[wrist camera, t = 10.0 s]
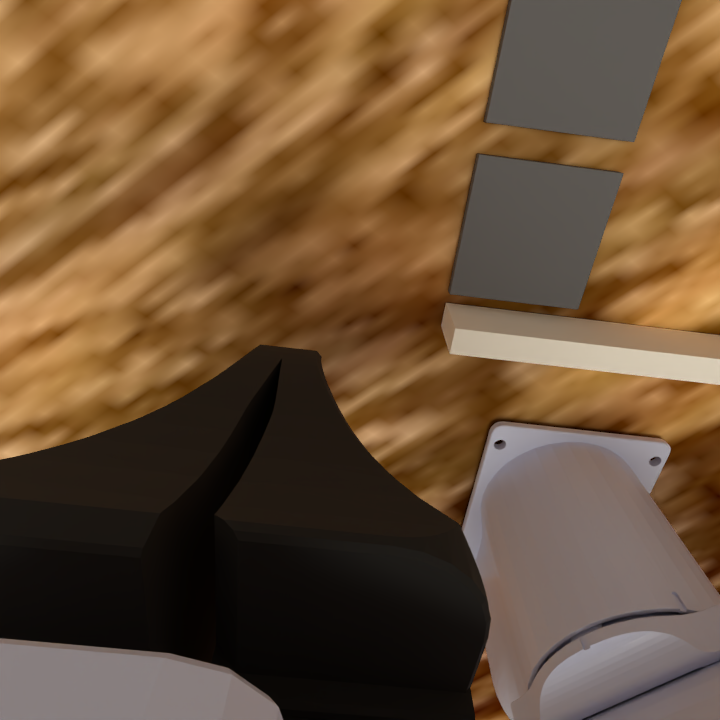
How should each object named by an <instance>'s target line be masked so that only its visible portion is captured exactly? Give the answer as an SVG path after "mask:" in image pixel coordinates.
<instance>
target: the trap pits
mask: <svg viewBox="0 0 720 720" xmlns="http://www.w3.org/2000/svg"><path fill="white" fill-rule="evenodd" d="M681 1H682V0H509V2H508V7H507V12H506V17H505V22H504V26H503V31H502V36H501V41H500V46H499V50H498V55H497V60H496V65H495V70H494V74H493V79H492V84H491V89H490V94H489V98H488V103H487V108H486V113H485V118H484V122H488V123H495V124H503V125H510V126H518V127H525V128H533V129H540V130H548V131H555V132H562V133H570V134H577V135H585V136H592V137H600V138H607V139H615V140H622V141H630V142H634V141H635V138H636V135H637V132H638V129H639V126H640V123H641V120H642V117H643V114H644V111H645V108H646V105H647V102H648V99H649V96H650V93H651V90H652V87H653V84H654V81H655V78H656V75H657V72H658V69H659V66H660V63H661V60H662V57H663V54H664V51H665V48H666V45H667V42H668V39H669V36H670V33H671V30H672V27H673V25H674V22H675V19H676V16H677V13H678V10H679V7H680V4H681ZM622 177H623V173H620V172H615V171H607V170H600V169H592V168H585V167H577V166H569V165H562V164H554V163H546V162H539V161H531V160H523V159H516V158H508V157H501V156H493V155H485V154H478V153H477V156H476V161H475V165H474V170H473V175H472V180H471V185H470V189H469V194H468V199H467V204H466V209H465V213H464V218H463V223H462V228H461V233H460V237H459V242H458V247H457V252H456V257H455V261H454V266H453V271H452V276H451V281H450V285H449V290H448V291H449V293H450V294H453V295H461V296H469V297H478V298H486V299H494V300H503V301H511V302H520V303H528V304H536V305H545V306H553V307H562V308H570V309H578V308H579V305H580V302H581V299H582V296H583V293H584V290H585V287H586V284H587V281H588V278H589V275H590V272H591V269H592V266H593V263H594V260H595V257H596V254H597V251H598V248H599V245H600V242H601V239H602V236H603V233H604V230H605V227H606V224H607V221H608V218H609V215H610V212H611V209H612V206H613V204H614V201H615V198H616V195H617V192H618V189H619V186H620V183H621V180H622Z"/></svg>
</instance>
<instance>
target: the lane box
mask: <svg viewBox="0 0 720 720" xmlns="http://www.w3.org/2000/svg"><path fill="white" fill-rule="evenodd" d="M441 327H442V331H443V334H444V337H445V340H446V344H447V347H448V350H449V353H450V354H455V355H464V356H473V357H482V358H490V359H499V360H508V361H516V362H525V363H534V364H543V365H551V366H560V367H569V368H578V369H586V370H595V371H604V372H613V373H621V374H630V375H639V376H648V377H656V378H665V379H674V380H682V381H691V382H700V383H709V384H717V385H720V335H715V334H706V333H698V332H689V331H681V330H673V329H664V328H656V327H647V326H639V325H630V324H622V323H613V322H605V321H597V320H588V319H580V318H571V317H563V316H554V315H546V314H538V313H529V312H521V311H512V310H504V309H495V308H487V307H479V306H470V305H462V304H453V303H446V305H445V309H444V314H443V319H442V324H441Z"/></svg>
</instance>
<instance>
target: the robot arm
mask: <svg viewBox="0 0 720 720" xmlns="http://www.w3.org/2000/svg"><path fill="white" fill-rule="evenodd" d="M498 440H503V442H502V443H501V444H494V443H495V442H496V441H498ZM670 451H671V448H670V446H669V445H668V443H667V442H666V441H665V440H663V439H660V438H651V437H642V436H632V435H623V434H614V433H605V432H596V431H587V430H578V429H568V428H559V427H550V426H541V425H532V424H523V423H514V422H504V421H502V422H497V423H495V424H494V425H492V426H491V428H490V431H489V434H488V438H487V441H486V445H485V448H484V452H483V455H482V459H481V462H480V466H479V469H478V473H477V476H476V480H475V483H474V487H473V490H472V494H471V497H470V501H469V505H468V508H467V512H466V515H465V519H464V522H463V526H462V528H461V526H460V525H459V524H458V523H457V522H455V521H454V520H452V519H451V518H449V517H448V516H446V515H445V514H443V513H442V512H440V511H438V510H437V509H435V508H434V507H432V506H431V505H429V504H428V503H426V502H425V501H423V500H422V499H420V498H419V497H417V496H416V495H415V494H414V493H412V492H411V491H410V490H409V489H407V488H406V487H405V486H404V485H402V484H401V483H400V482H399V481H397V480H396V479H395V478H394V477H393V476H392V475H391V474H389V473H388V472H387V471H386V470H385V469H384V468H383V467H382V466H381V465H380V464H379V463H378V462H377V461H376V460H375V459H374V458H373V457H372V456H371V454H370V453H369V452H368V451H367V450H366V448H365V447H364V446H363V445H362V443H361V442H360V441H359V439H358V438H357V437H356V435H355V434H354V433H353V431H352V430H351V428H350V427H349V425H348V423H347V422H346V420H345V418H344V417H343V415H342V413H341V411H340V410H339V408H338V406H337V404H336V402H335V400H334V398H333V396H332V393H331V391H330V389H329V387H328V384H327V381H326V379H325V376H324V372H323V369H322V364H321V356H320V354H319V353H318V352H317V351H312V350H303V349H294V348H285V347H277V346H268V345H259V346H258V347H256V348H255V349H253V350H252V351H251V352H249V353H248V354H247V355H245V356H244V357H243V358H241V359H240V360H239V361H237V362H236V363H234V364H233V365H232V366H230V367H229V368H228V369H226V370H225V371H223V372H222V373H220V374H219V375H218V376H216V377H215V378H213V379H212V380H210V381H208V382H207V383H205V384H203V385H202V386H200V387H198V388H197V389H195V390H193V391H192V392H190V393H189V394H187V395H185V396H184V397H182V398H180V399H178V400H176V401H174V402H172V403H171V404H169V405H167V406H165V407H163V408H160V409H158V410H156V411H154V412H152V413H150V414H147V415H145V416H143V417H141V418H138V419H136V420H134V421H131V422H128V423H126V424H123V425H120V426H117V427H115V428H112V429H109V430H107V431H104V432H101V433H98V434H96V435H93V436H90V437H87V438H84V439H80V440H77V441H74V442H70V443H67V444H64V445H60V446H56V447H53V448H49V449H45V450H41V451H37V452H33V453H29V454H25V455H21V456H16V457H12V458H7V459H2V460H0V720H475V713H474V707H473V701H472V696H471V690H470V687H471V684H472V681H473V679H474V676H475V673H476V670H477V668H478V665H479V662H480V659H481V657H482V654H483V651H484V648H485V647H486V652H487V657H488V661H489V666H490V671H491V676H492V680H493V685H494V688H495V691H496V694H497V697H498V699H499V701H500V703H501V705H502V707H503V709H504V711H505V712H506V714H507V716H508V717H509V718H510V720H720V595H719V594H718V592H717V591H716V589H715V588H714V586H713V585H712V583H711V582H710V581H709V579H708V578H707V576H706V575H705V573H704V572H703V571H702V569H701V568H700V566H699V565H698V563H697V562H696V561H695V559H694V558H693V556H692V555H691V553H690V552H689V550H688V549H687V548H686V546H685V545H684V543H683V542H682V540H681V539H680V538H679V536H678V535H677V533H676V532H675V530H674V529H673V528H672V526H671V525H670V523H669V522H668V520H667V519H666V517H665V516H664V515H663V513H662V512H661V510H660V509H659V507H658V506H657V505H656V503H655V502H654V500H653V499H652V497H651V496H650V493H651V491H652V489H653V487H654V485H655V483H656V481H657V479H658V476H659V474H660V472H661V470H662V468H663V466H664V464H665V462H666V460H667V458H668V456H669V454H670ZM653 457H656V458H655V459H654V460H651V461H650V459H651V458H653Z"/></svg>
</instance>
